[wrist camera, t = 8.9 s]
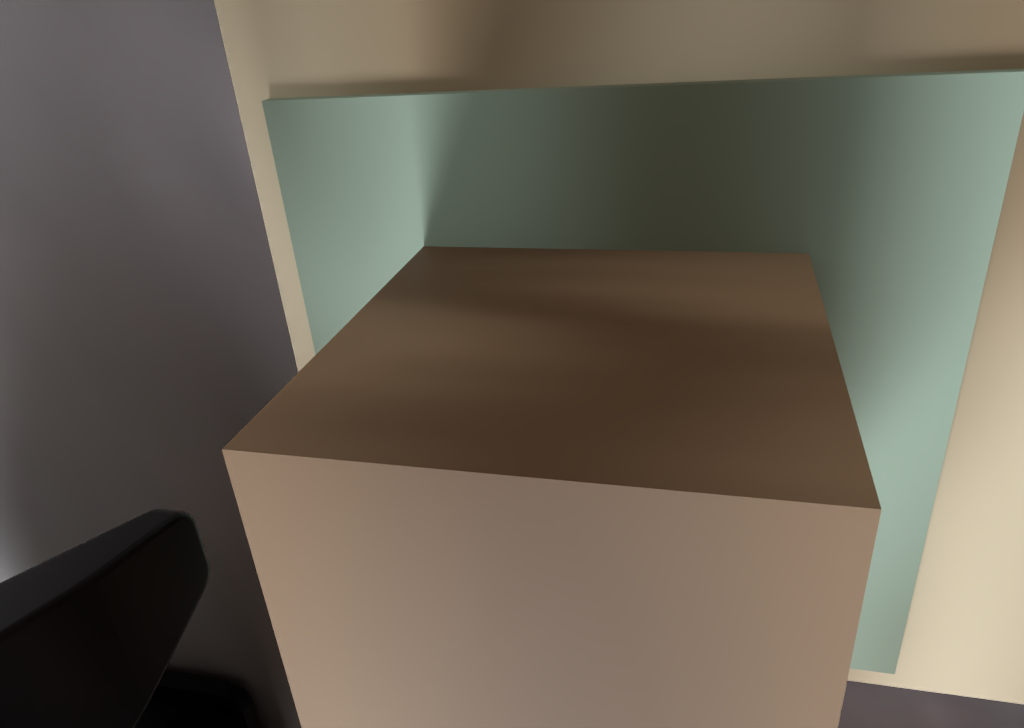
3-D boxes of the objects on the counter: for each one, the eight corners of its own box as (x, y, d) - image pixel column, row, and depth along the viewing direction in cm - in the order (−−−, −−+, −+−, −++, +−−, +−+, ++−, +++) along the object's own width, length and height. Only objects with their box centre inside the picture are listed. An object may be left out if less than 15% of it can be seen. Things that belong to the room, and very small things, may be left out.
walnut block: (458, 530, 13) (328, 819, 9) (423, 246, 11) (221, 449, 6) (770, 564, 12) (798, 919, 7) (809, 253, 9) (882, 509, 5)
